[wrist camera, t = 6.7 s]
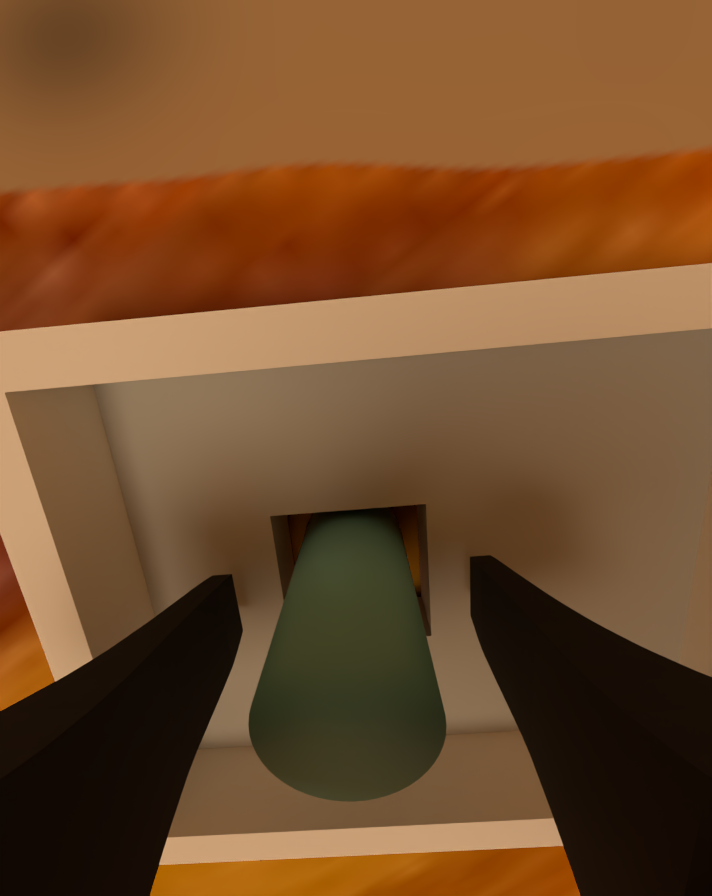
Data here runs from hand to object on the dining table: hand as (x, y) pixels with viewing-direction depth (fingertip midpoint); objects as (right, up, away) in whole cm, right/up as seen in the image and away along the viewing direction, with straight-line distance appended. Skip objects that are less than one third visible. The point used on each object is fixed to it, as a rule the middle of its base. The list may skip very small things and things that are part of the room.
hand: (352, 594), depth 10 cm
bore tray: (+2, +1, +3) cm, 3 cm away
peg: (0, +1, +3) cm, 3 cm away
